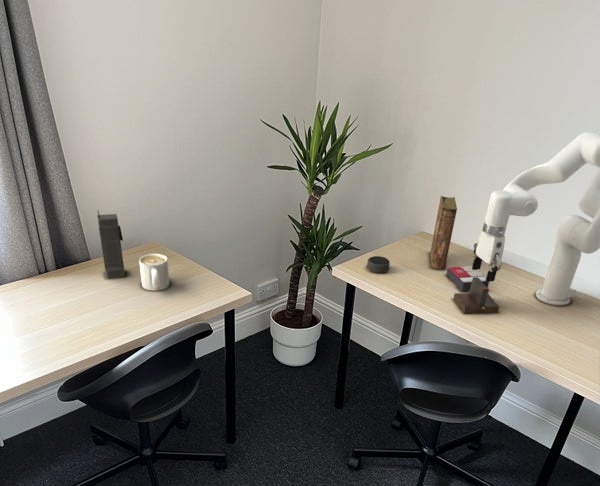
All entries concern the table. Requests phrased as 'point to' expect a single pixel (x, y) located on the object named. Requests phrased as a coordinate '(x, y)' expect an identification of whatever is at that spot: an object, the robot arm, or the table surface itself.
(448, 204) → the book
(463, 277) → the red and grey box
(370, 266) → the smart speaker
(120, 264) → the portable radio
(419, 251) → the table surface
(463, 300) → the stand
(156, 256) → the coffee mug
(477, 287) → the grey rectangular slab
